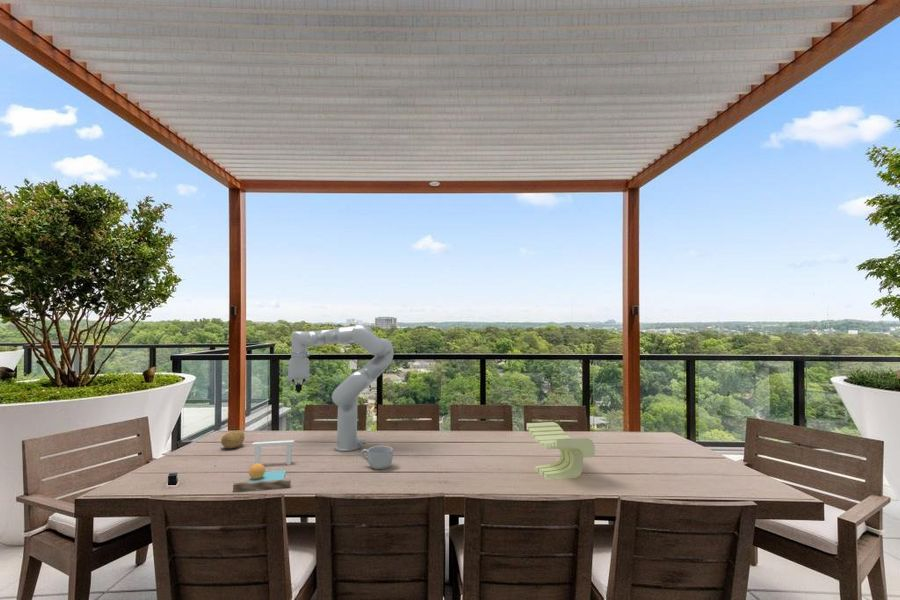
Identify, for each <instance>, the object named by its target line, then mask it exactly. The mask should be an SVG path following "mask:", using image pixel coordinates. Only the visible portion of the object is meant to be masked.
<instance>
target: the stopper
mask: <svg viewBox="0 0 900 600" xmlns="http://www.w3.org/2000/svg"><path fill="white" fill-rule="evenodd" d="M291 485H292V484H291V479H290V478H289V479H283V480H272V481H258V482H248V481H246V482H234V483H233V485H232V492H233V491H238V492H249V490H252V491H257V490H256V489H265V490H273V489H272V488H278V489H289V488H291Z"/></svg>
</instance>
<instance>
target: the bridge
mask: <svg viewBox="0 0 900 600" xmlns="http://www.w3.org/2000/svg"><path fill="white" fill-rule="evenodd" d="M251 445H252V448H254V464H256V463H260V464H262V463H261V462H262V461H261V459H262V458H261V457H262V456H261V453H262V447H270V446H271V447H276V446H285V447H286V452H285V453H286V455H285V459H286V460H285V465H286V464H288V465H292V463H293V460H292V459H293V456H292V455H293V454H292V453H293V449H292V448H293V446H294V445H295V439H293V440H292V439H290V440H272V441H256V442H254V441H253V442H252V444H251Z"/></svg>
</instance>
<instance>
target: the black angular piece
mask: <svg viewBox="0 0 900 600" xmlns="http://www.w3.org/2000/svg"><path fill="white" fill-rule="evenodd" d="M178 475H179V474H178V472H172V473H171V472H170V473H168V475H167V482H168V485H176V484H177V482H178V481H179V480H178V478H179V477H178Z"/></svg>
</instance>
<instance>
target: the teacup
mask: <svg viewBox="0 0 900 600" xmlns="http://www.w3.org/2000/svg"><path fill="white" fill-rule="evenodd" d="M393 451H394V448H393V447H391V446H388V445H375V446H371V447H369V448H363V449H362V450H361V451H360V456H361V458H362V459H364V460H365V461H366V462H367V464H368V465H369V466H370V467H371V468H372V469H374V470H377V469H382V470H386V469H388V468H389V467H390V466H391V465H392V463H393V455H394V454H393ZM364 452H366V454H367V457H366V456H365V455H364Z"/></svg>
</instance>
